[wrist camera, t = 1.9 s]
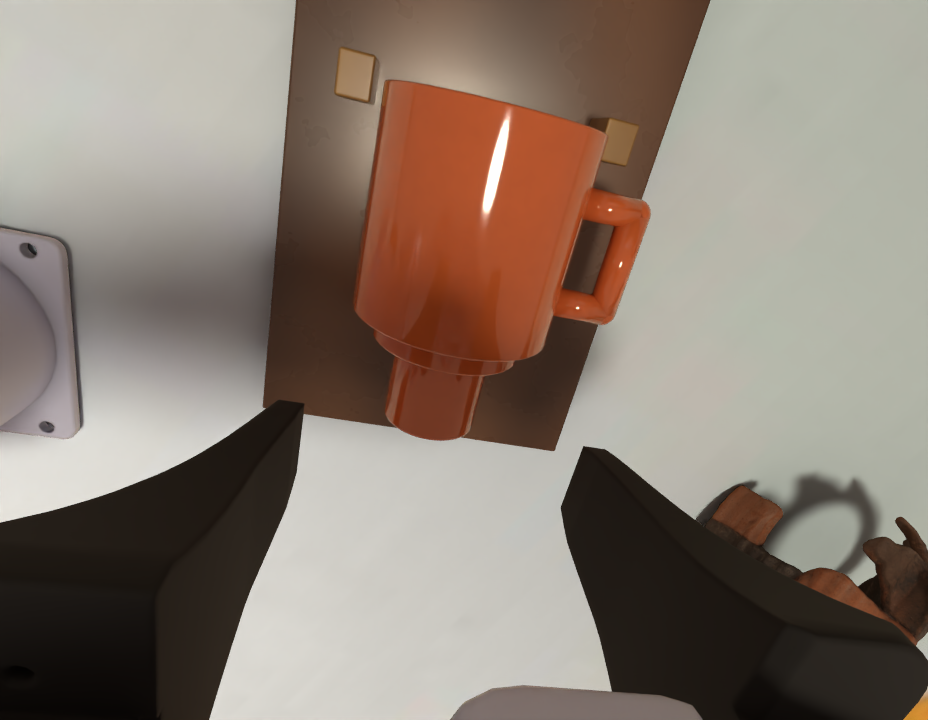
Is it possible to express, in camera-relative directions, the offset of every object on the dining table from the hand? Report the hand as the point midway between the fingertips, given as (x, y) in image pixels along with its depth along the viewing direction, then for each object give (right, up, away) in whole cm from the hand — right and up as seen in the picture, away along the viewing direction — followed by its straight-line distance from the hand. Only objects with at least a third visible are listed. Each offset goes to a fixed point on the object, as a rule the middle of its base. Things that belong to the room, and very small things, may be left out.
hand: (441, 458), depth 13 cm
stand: (+1, +9, +5) cm, 10 cm away
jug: (+2, +9, +1) cm, 9 cm away
